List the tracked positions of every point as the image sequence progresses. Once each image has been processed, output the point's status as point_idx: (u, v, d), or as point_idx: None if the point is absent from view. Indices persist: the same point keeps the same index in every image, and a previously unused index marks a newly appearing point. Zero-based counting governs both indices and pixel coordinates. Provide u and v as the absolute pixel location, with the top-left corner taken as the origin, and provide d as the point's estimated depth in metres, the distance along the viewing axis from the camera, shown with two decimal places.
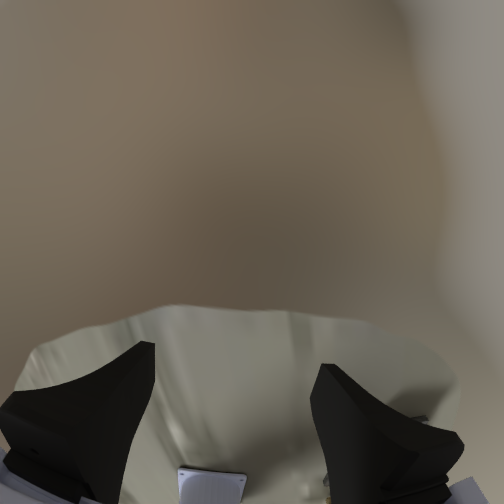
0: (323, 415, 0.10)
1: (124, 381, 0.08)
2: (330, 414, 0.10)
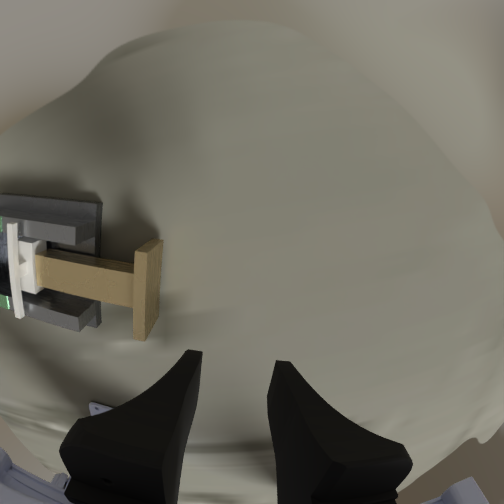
0: (275, 414, 0.10)
1: (186, 394, 0.08)
2: (280, 413, 0.10)
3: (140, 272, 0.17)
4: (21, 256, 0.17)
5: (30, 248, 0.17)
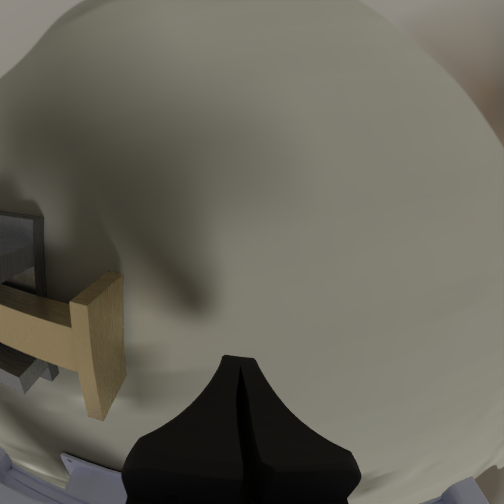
0: (236, 411, 0.10)
1: None
2: (239, 410, 0.10)
3: (80, 333, 0.09)
4: None
5: None
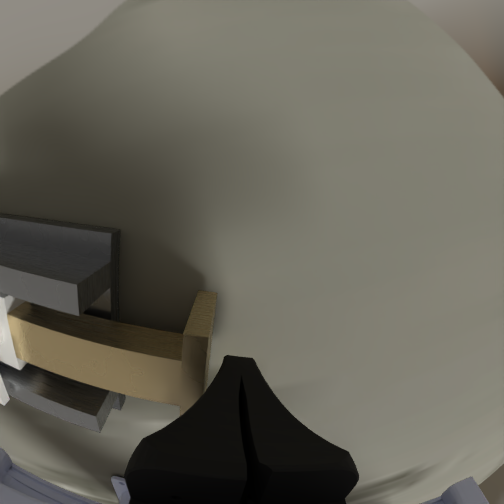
0: None
1: None
2: None
3: (193, 367, 0.09)
4: None
5: (3, 305, 0.10)
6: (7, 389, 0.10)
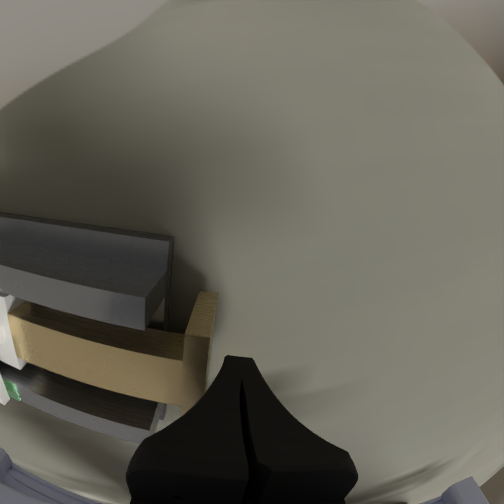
0: None
1: None
2: None
3: (194, 367, 0.09)
4: None
5: (3, 304, 0.10)
6: (42, 405, 0.10)
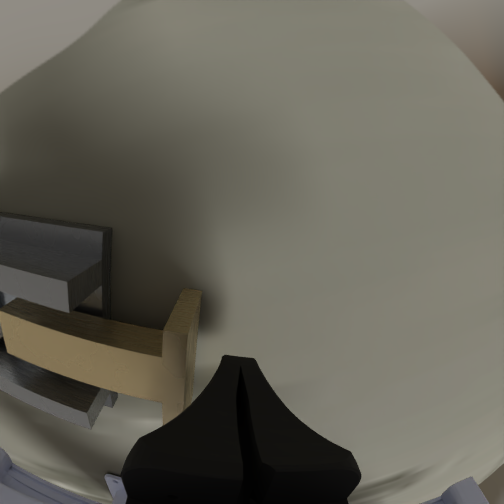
0: (236, 411, 0.10)
1: None
2: (239, 410, 0.10)
3: (173, 364, 0.09)
4: None
5: None
6: (1, 385, 0.10)
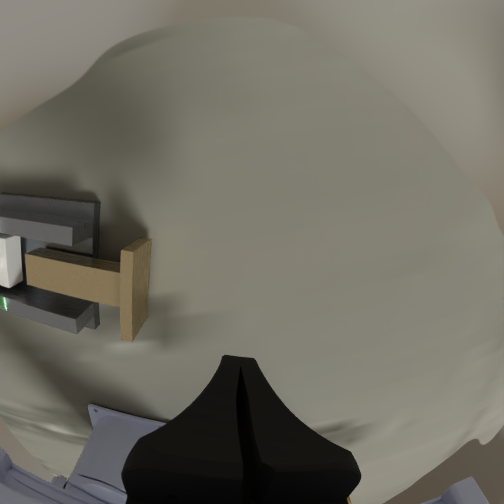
0: (236, 411, 0.10)
1: None
2: (238, 410, 0.10)
3: (126, 271, 0.16)
4: None
5: (4, 244, 0.17)
6: (18, 310, 0.17)
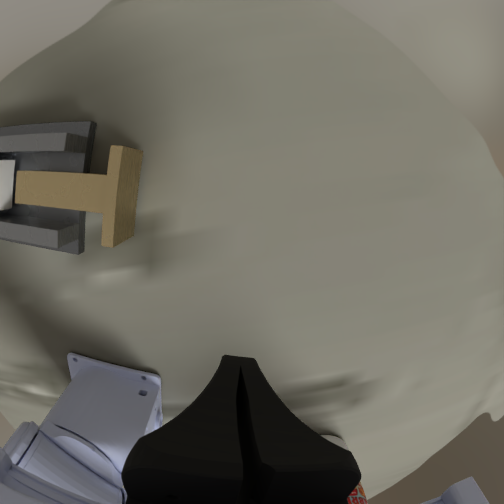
0: (236, 411, 0.10)
1: None
2: (239, 410, 0.10)
3: (113, 167, 0.15)
4: None
5: None
6: (3, 232, 0.16)
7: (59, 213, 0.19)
